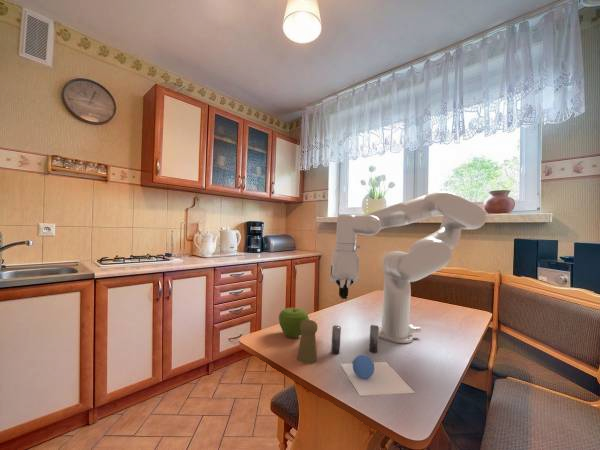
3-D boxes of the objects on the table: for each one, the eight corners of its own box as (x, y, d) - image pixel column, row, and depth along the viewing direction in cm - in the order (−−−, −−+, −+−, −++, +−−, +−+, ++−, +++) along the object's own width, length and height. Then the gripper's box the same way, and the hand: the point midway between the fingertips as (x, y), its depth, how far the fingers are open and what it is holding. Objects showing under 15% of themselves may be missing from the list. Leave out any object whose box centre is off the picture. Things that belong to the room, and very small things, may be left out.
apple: (314, 337, 92) (315, 309, 92) (291, 345, 85) (293, 314, 85) (293, 327, 100) (295, 301, 100) (271, 334, 93) (273, 306, 93)
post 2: (375, 349, 85) (376, 325, 85) (378, 353, 82) (380, 328, 82) (367, 349, 84) (369, 325, 85) (371, 353, 82) (372, 328, 82)
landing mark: (385, 362, 77) (385, 362, 77) (414, 393, 63) (414, 392, 63) (340, 364, 74) (340, 363, 74) (359, 396, 60) (359, 395, 60)
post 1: (338, 350, 83) (339, 325, 83) (340, 354, 80) (341, 328, 80) (330, 350, 82) (331, 325, 82) (332, 354, 80) (333, 328, 80)
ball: (377, 378, 65) (370, 381, 69) (376, 354, 68) (370, 358, 72) (355, 375, 65) (350, 378, 69) (355, 351, 68) (350, 355, 72)
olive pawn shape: (296, 353, 79) (298, 317, 80) (315, 353, 80) (317, 317, 80) (297, 363, 73) (299, 324, 74) (318, 363, 74) (320, 325, 74)
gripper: (360, 248, 100) (358, 295, 100) (323, 246, 98) (321, 295, 98) (369, 249, 93) (366, 301, 93) (329, 248, 90) (326, 300, 90)
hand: (343, 297), depth 95 cm, fingers closed
